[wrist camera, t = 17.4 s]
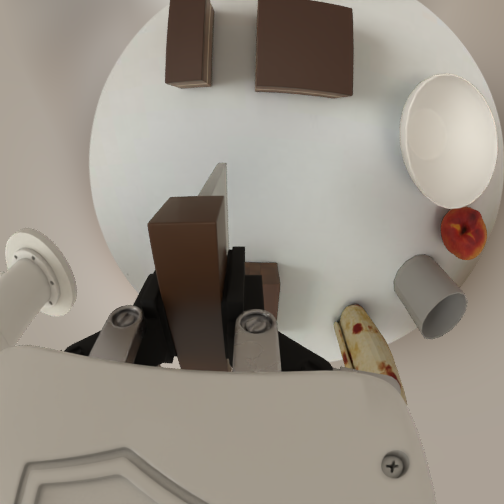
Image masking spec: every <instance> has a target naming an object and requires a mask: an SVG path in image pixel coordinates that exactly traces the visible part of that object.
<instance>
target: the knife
mask: <svg viewBox="0 0 504 504" xmlns="http://www.w3.org/2000/svg"><path fill="white" fill-rule="evenodd" d="M148 231H149V237H150V243H151V249H152V254H153V259H154V264H155V269H156V274H157V279H158V284H159V288H160V293H161V297H162V300H163V303H164V308H165V312H166V316H167V320H168V324H169V327H170V331H171V335H172V339H173V342H174V346H175V349H176V353H177V357H178V361H179V364H180V367H181V369H186V370H201V371H222V372H231V370H232V367H231V366H230V365H229V359H226V357H225V347H224V337H223V326H222V315H221V301H222V295H223V288H224V280H225V273H226V265H227V253H228V250H229V234H228V205H227V167H226V163H218V164H217V166H216V167H215V169H214V170H213V172H212V174H211V175H210V177H209V178H208V180H207V182H206V183H205V185H204V187H203V188H202V190H201V191H200V193H199V195H198V196H187V197H170V198H169V199H168V200H167V201H166V202H165V204H164V205H163V206H162V207H161V208H160V209H159V211H158V212H157V213H156V214H155V215H154V217H153V218H152V219H151V220H150V221H149V223H148Z"/></svg>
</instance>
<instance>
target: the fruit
mask: <svg viewBox="0 0 504 504" xmlns="http://www.w3.org/2000/svg"><path fill="white" fill-rule="evenodd" d="M441 236H442V240H443V243H444V245H445V247H446V248H447V249H448V251H449V252H451V253H452V254H454V255H455V256H456V257H458V258H460V259H462V260H470V259H473V258H475V257H477V256H478V255H479V254H480V252H481V251H482V249H483V248H484V246H485V243H486V239H487V230H486V226H485V224H484V222H483V219H482V216H481V214H480V212H479V211H477V210H474V209H472V208H469V207H462V208H456V209H451V210H450V211H449V212H448V213H447V214H446V215H445V216H444V218H443V220H442V223H441Z"/></svg>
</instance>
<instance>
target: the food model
mask: <svg viewBox="0 0 504 504" xmlns="http://www.w3.org/2000/svg"><path fill="white" fill-rule="evenodd" d="M334 329H335V333H336V336H337V340H338V343H339V347H340V350H341V354H342V357H343V361H344V364H345V367H346V368H351V369H356V370H361V371H366V372H371V373H377V374H383V375H388V376H390V377H393V378H394V379H395V380H397V382H398V383H399V385H400V389H401V396H402V398H403V399H404V401H405V403H406V405H407V401H406V397H405V393H404V389H403V386H402V383H401V380H400V377H399V374H398V370H397V368H396V365H395V362H394V359H393V356H392V354H391V351H390V349H389V347H388V345H387V343H386V341H385V339H384V338H383V336H382V335H381V333H380V332H379V330H378V329H377V327H376V326H375V324H374V323H373V321H372V320H371V319H370V317H369V316H368V315H367V313H366V311H365V310H364V309H363V308H362V307H361V306H360V305H358V304H356V305H350V306H347V307H346V308H345V309H344V311H343V312H342V315H341V318H340V326H339V323H337V322H335V323H334Z"/></svg>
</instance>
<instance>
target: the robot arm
mask: <svg viewBox="0 0 504 504" xmlns="http://www.w3.org/2000/svg"><path fill="white" fill-rule="evenodd" d="M11 265H12V267H11V268H9V269H8V270H7V271H6V272H0V504H436V499H435V493H434V488H433V483H432V479H431V475H430V471H429V467H428V463H427V460H426V456H425V452H424V449H423V445H422V442H421V439H420V437H419V434H418V430H417V428H416V425H415V423H414V420H413V418H412V416H411V413H410V411H409V409H408V407H407V405H406V403H405V401H404V399H403V398H402V396H401V389H400V385H399V383H398V382H397V380H395V379H394V378H393V377H390V376H388V375H383V374H377V373H371V372H366V371H361V370H356V369H351V368H346V367H340V369H336V368H333V367H332V366H331V364H330V363H329V362H328V361H326V360H325V359H323V358H322V357H320V356H318V355H317V354H315V353H313V352H312V351H310V350H308V349H307V348H305V347H303V346H302V345H300V344H298V343H297V342H295V341H293V340H292V339H290V338H288V337H287V336H285V335H284V334H282V333H280V332H279V331H278V329H277V321H276V318H275V317H274V316H273V315H272V314H271V313H269V312H268V311H265V310H264V297H263V282H262V275H245V247H233V249H232V250H228V253H227V265H226V273H225V280H224V288H223V295H222V301H221V315H222V326H223V337H224V347H225V357H226V359H229V365H230V366H231V367H232V368H233V369H232V372H222V371H201V370H186V369H173V368H163V367H161V366H160V364H162V363H172V362H173V358H174V356H177V353H176V349H175V346H174V342H173V339H172V335H171V331H170V327H169V324H168V320H167V316H166V312H165V308H164V303H163V300H162V297H161V293H160V288H159V284H158V279H157V274H156V269H155V271H154V273H153V274H150V275H149V276H148V278H147V280H146V281H145V283H144V285H143V287H142V289H141V291H140V293H139V295H138V297H137V299H136V301H135V303H134V305H133V306H132V305H126V306H122V307H119V308H117V309H115V310H114V311H113V312H112V313H111V314H110V315H109V317H108V319H107V321H106V323H105V325H104V326H103V328H102V330H101V331H99V332H97V333H95V334H93V335H91V336H89V337H87V338H85V339H83V340H81V341H79V342H77V343H74V344H72V345H71V346H69V347H67V349H66V350H65V351H62V350H60V351H59V350H54V349H49V348H45V347H40V346H32V345H18V346H15V345H16V344H17V342H18V341H19V339H20V338H21V336H22V335H23V333H24V332H25V330H26V329H27V327H28V326H29V325H30V323H31V322H32V321H33V319H34V318H35V317H36V315H37V314H38V313H39V311H40V310H41V309H42V308H43V307H46V308H49V307H52V306H54V305H55V304H56V303H57V301H58V300H59V296H60V288H59V284H58V281H57V278H56V276H55V274H54V272H53V270H52V268H51V267H50V266H49V264H48V263H47V262H46V260H45V259H44V258H43V257H42V256H41V255H39V254H38V253H37V252H35V251H34V250H32V249H29V248H20V249H18V250H17V251H16V252H15V253H14V255H13V257H12V263H11Z"/></svg>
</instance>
